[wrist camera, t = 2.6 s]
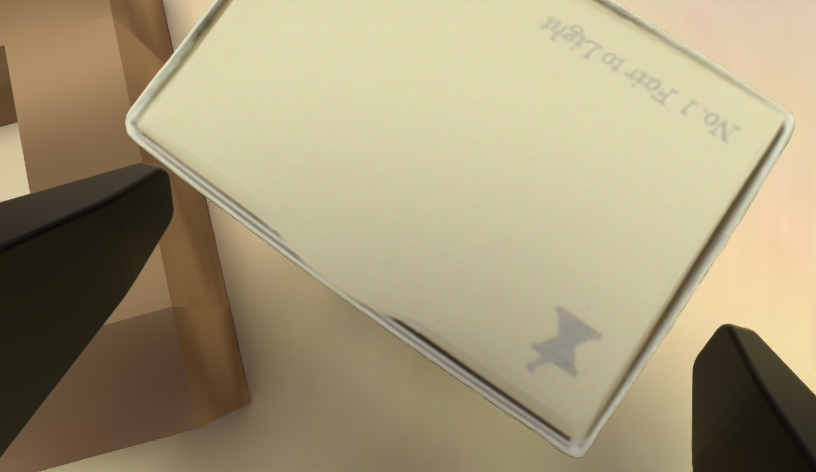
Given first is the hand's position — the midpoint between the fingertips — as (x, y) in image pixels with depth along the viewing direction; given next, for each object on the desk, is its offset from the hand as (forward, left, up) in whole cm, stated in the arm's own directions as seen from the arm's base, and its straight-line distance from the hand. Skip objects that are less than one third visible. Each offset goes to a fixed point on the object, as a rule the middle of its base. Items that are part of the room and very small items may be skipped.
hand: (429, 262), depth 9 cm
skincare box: (+1, -1, -9) cm, 9 cm away
